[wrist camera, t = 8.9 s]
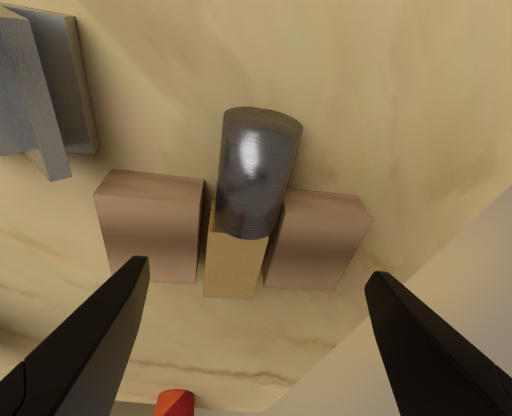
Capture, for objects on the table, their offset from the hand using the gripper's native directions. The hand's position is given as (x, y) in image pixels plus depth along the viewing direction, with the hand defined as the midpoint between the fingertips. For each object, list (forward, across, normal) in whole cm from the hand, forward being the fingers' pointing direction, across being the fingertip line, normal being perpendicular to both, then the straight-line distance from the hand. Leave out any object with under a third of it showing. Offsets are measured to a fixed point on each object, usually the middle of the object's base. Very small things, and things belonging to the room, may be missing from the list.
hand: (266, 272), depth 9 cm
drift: (+11, 0, +9) cm, 14 cm away
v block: (+11, +13, -2) cm, 17 cm away
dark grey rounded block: (+11, 0, +2) cm, 11 cm away
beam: (+11, 0, +8) cm, 13 cm away
